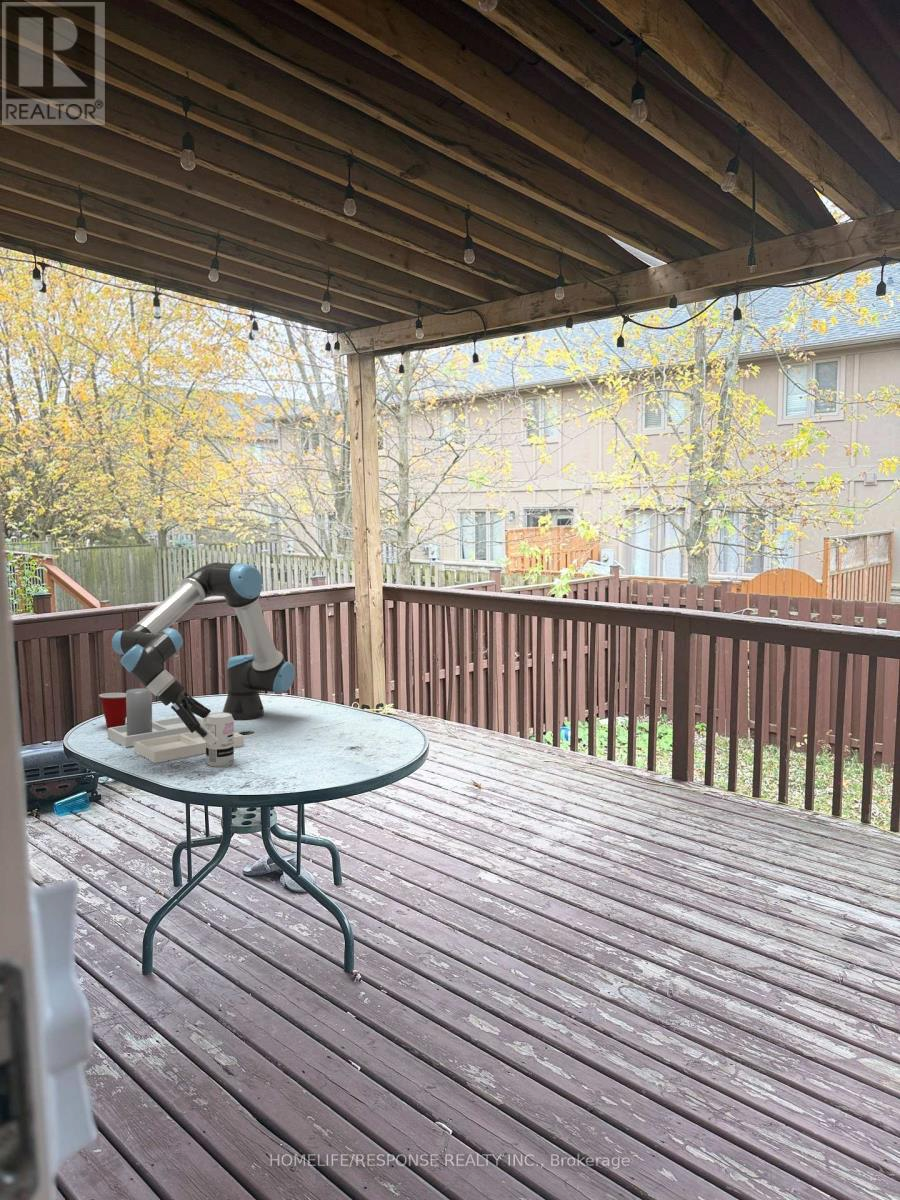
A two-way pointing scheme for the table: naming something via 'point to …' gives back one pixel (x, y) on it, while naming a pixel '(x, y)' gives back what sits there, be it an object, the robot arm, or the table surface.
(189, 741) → the tray
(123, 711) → the plastic cup
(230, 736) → the supplement can
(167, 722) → the tray
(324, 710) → the table surface
